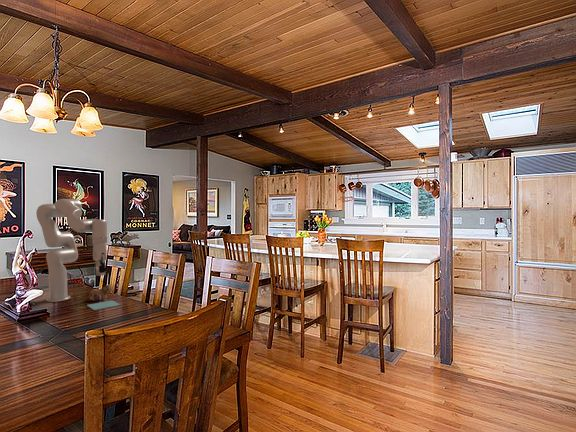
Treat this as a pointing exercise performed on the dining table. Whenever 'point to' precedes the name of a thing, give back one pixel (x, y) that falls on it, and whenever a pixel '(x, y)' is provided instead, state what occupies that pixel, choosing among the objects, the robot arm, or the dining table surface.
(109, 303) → the card
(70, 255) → the robot arm
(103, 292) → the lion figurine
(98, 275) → the tube
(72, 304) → the dining table surface
